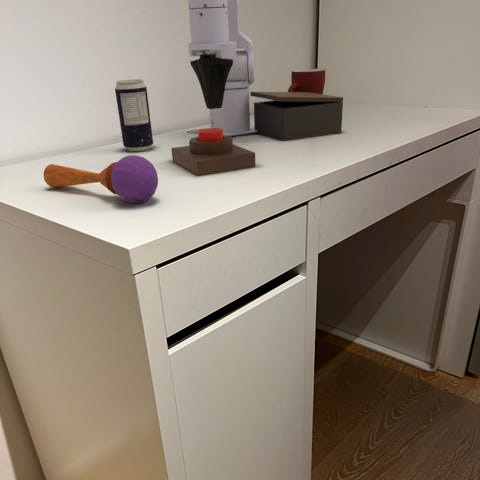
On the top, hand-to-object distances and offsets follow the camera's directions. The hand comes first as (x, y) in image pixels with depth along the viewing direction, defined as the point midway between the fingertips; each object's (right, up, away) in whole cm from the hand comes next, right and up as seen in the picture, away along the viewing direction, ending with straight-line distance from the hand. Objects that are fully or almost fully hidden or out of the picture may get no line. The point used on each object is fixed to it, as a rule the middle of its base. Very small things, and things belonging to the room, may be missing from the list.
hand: (214, 108), depth 81 cm
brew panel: (0, -8, +3) cm, 9 cm away
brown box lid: (+15, +11, +22) cm, 29 cm away
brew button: (-1, -5, +2) cm, 5 cm away
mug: (+20, +16, +44) cm, 51 cm away
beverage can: (-15, -1, +17) cm, 23 cm away
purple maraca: (-15, -17, -10) cm, 25 cm away
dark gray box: (+16, +5, +25) cm, 30 cm away
